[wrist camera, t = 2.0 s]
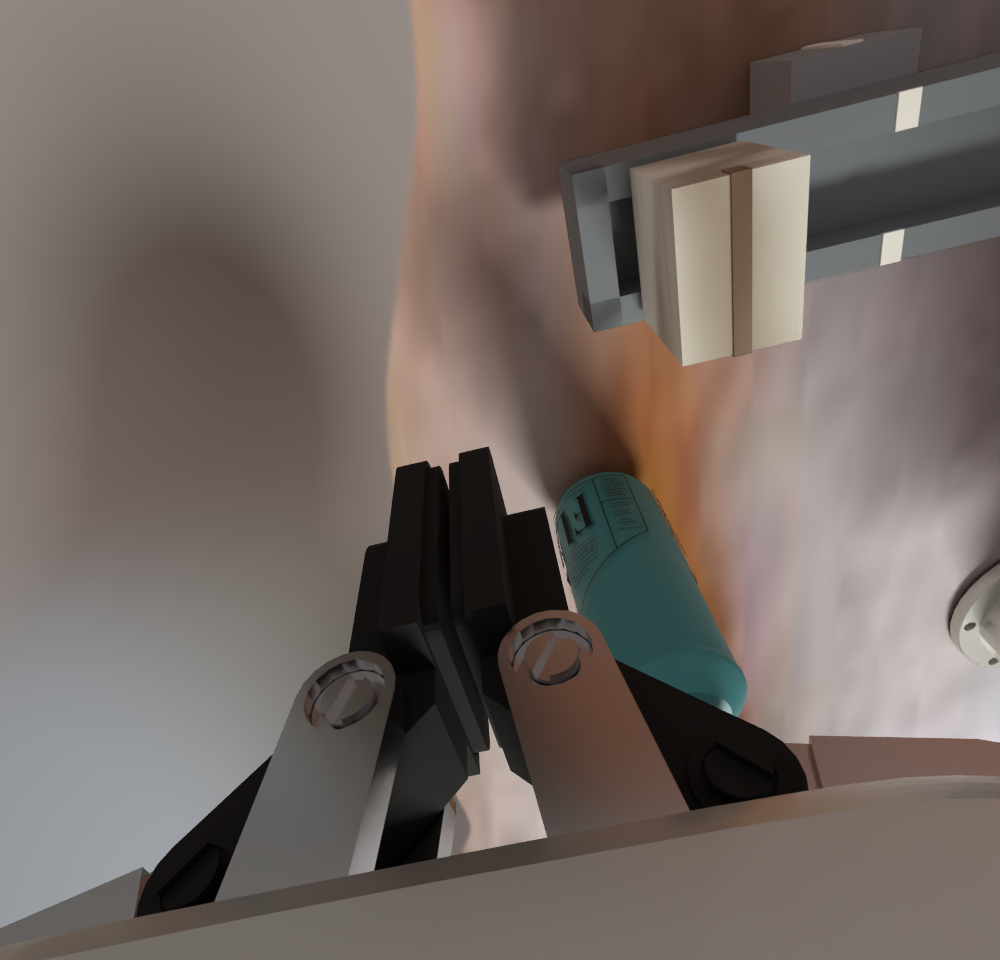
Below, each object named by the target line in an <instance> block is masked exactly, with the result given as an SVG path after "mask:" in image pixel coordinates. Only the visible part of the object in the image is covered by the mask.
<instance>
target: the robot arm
mask: <svg viewBox="0 0 1000 960" xmlns="http://www.w3.org/2000/svg"><path fill="white" fill-rule="evenodd" d="M950 635H951V638H952V641H953V643H954V644H955V646H956V647H957V648H958V650H959V651H960V652H961V653H962V654H963V655H964V656H965V657H966V658H967V659H968V660H970V661H972V662H974V663H976V664H978V665H981V666H985V667H991V668H1000V563H999V564H997V565H996V566H994V567H993V568H992V569H990V570H989V571H988V572H986V573H985V574H984V575H982V576H981V577H980V578H979V579H978V580H977V581H976V582H975V583H974V584H973V585H972V586H971V587H970V588H969V589H968V591H967V592H966V593H965V594H964V596H963V597H962V598H961V599H960V601H959V603H958V605H957V607H956V608H955V610H954V613H953V616H952V619H951V622H950ZM488 718H489V721H490V723H491V726H492V729H493V731H494V734H495V737H496V740H497V742H498V745H499V747H500V748H503V751H504V754H505V756H506V759H507V762H508V765H509V767H510V770H511V771H512V772H514V773H515V774H517V775H518V776H519V777H521V778H522V779H524V780H525V781H527V782H528V783H530V784H531V785H532V786H533V789H534V792H535V796H536V799H537V803H538V806H539V810H540V813H541V817H542V820H543V824H544V827H545V831H546V834H547V838H543V839H537V840H532V841H527V842H521V843H516V844H511V845H505V846H500V847H495V848H490V849H485V850H479V851H474V852H469V853H464V854H459V855H453V856H451V850H452V843H453V835H454V827H455V818H456V802H455V799H454V797H453V796H454V795H455V794H456V793H457V791H458V790H459V789H460V788H461V787H462V785H463V784H464V783H465V782H466V781H467V779H468V776H473V775H478V774H480V764H479V752H482V751H487V750H489V749H490V737H489V723H488ZM0 960H1000V743H998V742H992V741H986V740H980V739H951V738H901V737H852V736H809V744H796V743H783V742H782V741H781V740H779V739H778V738H776V737H775V736H773V735H771V734H770V733H768V732H767V731H765V730H763V729H761V728H759V727H757V726H755V725H753V724H751V723H749V722H746V721H744V720H742V719H740V718H738V717H736V716H734V715H732V714H730V713H727V712H725V711H723V710H721V709H719V708H717V707H715V706H713V705H711V704H708V703H706V702H704V701H702V700H700V699H698V698H696V697H694V696H692V695H690V694H687V693H685V692H683V691H681V690H679V689H677V688H675V687H673V686H671V685H668V684H666V683H664V682H662V681H660V680H658V679H656V678H654V677H652V676H649V675H647V674H645V673H643V672H641V671H639V670H637V669H635V668H633V667H631V666H628V665H626V664H624V663H622V662H620V661H618V660H616V659H614V657H613V655H612V653H611V651H610V649H609V647H608V645H607V643H606V641H605V639H604V637H603V635H602V633H601V632H600V631H599V629H598V628H597V627H596V625H595V624H594V623H593V622H592V621H590V620H589V619H587V618H586V617H584V616H583V615H581V614H578V613H574V612H571V611H569V610H568V606H567V601H566V597H565V593H564V588H563V584H562V580H561V575H560V571H559V567H558V562H557V558H556V554H555V549H554V545H553V541H552V537H551V532H550V528H549V524H548V519H547V515H546V511H545V507H542V508H537V509H533V510H528V511H524V512H519V513H515V514H510V515H507V512H506V508H505V505H504V501H503V497H502V493H501V490H500V486H499V482H498V478H497V475H496V471H495V467H494V463H493V460H492V456H491V452H490V449H489V447H484V448H480V449H476V450H471V451H467V452H463V453H459V462H454V463H450V464H449V489H448V486H447V483H446V480H445V477H444V474H443V471H442V468H441V467H440V466H437V467H433V468H431V467H430V465H429V463H428V462H427V461H423V462H419V463H415V464H410V465H406V466H402V467H398V468H397V469H396V475H395V483H394V491H393V500H392V508H391V516H390V525H389V532H388V541H387V542H384V543H380V544H376V545H371V546H369V547H368V548H367V550H366V553H365V558H364V564H363V570H362V576H361V582H360V588H359V594H358V600H357V606H356V612H355V618H354V624H353V631H352V637H351V642H350V648H349V653H347V654H343V655H341V656H339V657H336V658H334V659H332V660H330V661H328V662H326V663H325V664H324V665H322V666H321V667H320V668H318V669H317V670H315V671H314V673H312V675H311V676H310V677H309V678H308V679H307V680H306V681H305V682H304V683H303V685H302V687H301V689H300V690H299V692H298V694H297V696H296V698H295V700H294V703H293V705H292V708H291V710H290V713H289V715H288V718H287V720H286V723H285V726H284V728H283V731H282V733H281V735H280V738H279V740H278V743H277V746H276V748H275V751H274V753H273V755H272V756H270V757H269V758H268V760H266V761H265V762H264V763H263V764H262V765H261V766H260V767H259V768H258V769H257V770H256V771H254V772H253V773H252V774H251V775H250V776H249V777H248V778H247V779H246V780H245V781H244V782H243V783H241V785H239V786H238V787H237V788H236V789H235V790H234V791H233V792H232V793H231V794H230V795H229V796H228V797H226V798H225V799H224V800H223V801H222V802H221V803H220V804H219V805H218V806H217V807H216V808H215V809H214V810H213V811H211V812H210V813H209V814H208V815H207V816H206V817H205V818H204V819H203V820H202V821H201V822H200V823H199V824H197V826H195V827H194V828H193V829H192V830H191V831H190V832H189V833H188V834H187V835H186V836H185V837H184V838H182V839H181V840H180V841H179V842H178V843H177V844H176V845H175V846H174V847H173V848H172V849H171V850H170V851H169V852H168V853H167V855H166V856H165V857H164V858H163V859H162V860H161V861H160V862H159V863H158V865H157V867H156V868H155V870H154V871H153V872H151V873H148V872H147V871H146V870H145V869H144V868H143V867H141V868H139V869H137V870H135V871H132V872H130V873H128V874H125V875H123V876H121V877H118V878H116V879H114V880H111V881H109V882H107V883H104V884H102V885H100V886H97V887H95V888H93V889H90V890H88V891H86V892H84V893H81V894H79V895H77V896H74V897H72V898H70V899H67V900H65V901H63V902H60V903H58V904H56V905H53V906H51V907H49V908H47V909H44V910H42V911H39V912H37V913H35V914H32V915H30V916H28V917H26V918H23V919H21V920H18V921H16V922H14V923H12V924H9V925H7V926H5V927H2V928H0Z"/></svg>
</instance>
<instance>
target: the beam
mask: <svg viewBox="0 0 1000 960" xmlns="http://www.w3.org/2000/svg"><path fill="white" fill-rule="evenodd" d="M922 32H923V27H914V28H905V29H896V30H887V31H877V32H868V33H862V34H858V35H854V36H851V37H847V38H843V39H839V40H835V41H831V42H821V43H816V44H812V45H808V46H805V47H801V49H800V50H796V51H792V52H789V53H785V54H781V55H777V56H773V57H769V58H765V59H761V60H758V61H754V62H750V115H747V116H743V117H739V118H735V119H731V120H727V121H724V122H720V123H716V124H712V125H708V126H704V127H700V128H696V129H692V130H688V131H684V132H680V133H676V134H672V135H668V136H664V137H660V138H656V139H652V140H648V141H645V142H641V143H637V144H633V145H629V146H625V147H621V148H617V149H613V150H609V151H605V152H601V153H597V154H593V155H589V156H585V157H581V158H577V159H573V160H570V161H566V162H562V163H558V164H557V166H558V172H559V179H560V186H561V192H562V199H563V205H564V212H565V218H566V225H567V231H568V238H569V244H570V251H571V257H572V264H573V271H574V277H575V284H576V290H577V297H578V303H579V307H580V308H581V310H582V312H583V314H584V315H585V317H586V319H587V321H588V322H589V324H590V326H591V327H592V329H593V331H594V332H597V331H601V330H606V329H610V328H614V327H618V326H623V325H627V324H631V323H635V322H640V321H644V320H645V319H644V316H643V305H642V295H641V285H640V274H639V264H638V253H637V243H636V233H635V222H634V212H633V201H632V191H631V180H630V170H629V168H633V167H637V166H641V165H645V164H649V163H653V162H657V161H661V160H665V159H669V158H673V157H677V156H681V155H685V154H689V153H693V152H697V151H701V150H705V149H709V148H713V147H717V146H720V145H724V144H728V143H732V142H736V141H740V140H743V141H748V142H752V143H757V144H762V145H766V146H771V147H776V148H781V149H785V150H790V151H795V152H799V153H804V154H809V155H811V158H810V179H809V200H808V221H807V242H806V263H805V284H806V283H811V282H815V281H819V280H823V279H828V278H832V277H836V276H840V275H844V274H849V273H853V272H857V271H861V270H866V269H870V268H874V267H878V266H883V265H887V264H891V263H894V262H899V261H901V260H902V259H906V258H910V257H914V256H919V255H923V254H927V253H931V252H936V251H940V250H944V249H948V248H953V247H957V246H961V245H965V244H969V243H974V242H978V241H982V240H986V239H991V238H995V237H999V236H1000V52H996V53H992V54H988V55H984V56H980V57H976V58H972V59H968V60H964V61H960V62H956V63H953V64H949V65H945V66H941V67H937V68H933V69H929V70H925V71H921V72H918V64H919V56H920V48H921V40H922Z"/></svg>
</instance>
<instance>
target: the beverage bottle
mask: <svg viewBox="0 0 1000 960" xmlns="http://www.w3.org/2000/svg"><path fill="white" fill-rule="evenodd" d="M652 492H653V490H652ZM653 494H654V493H653ZM653 494H652V493H651V491H650V490H649V489H648V488H647V487H646V486H645V485H644V484H643V483H642V482H640V481H639V480H638V479H636V478H634V477H632V476H630V475H628V474H624V473H620V472H602V473H597V474H593V475H590V476H588V477H585V478H583V479H581V480H579V481H578V482H576V483H575V484H573V485H572V486H571V487H570V488H569V489H568V490H567V491H566V492H565V494H564V495H563V496H562V498H561V500H560V502H559V505H558V507H557V509H556V511H557V513H556V512H555V513H556V520H555V521H556V523H555V524H556V533H558V535H557V537H556V538H558V537H559V540H558V543H559V541H560V545H561V547H560V545H559V546H558V548H561V550H562V552H561V550H560V551H559V552H560V553H561V554H562V553H563V555H562V556H563V557H564V558H563V559H564V562H565V564H566V568H567V572H566V573H567V574H566V575H567V576H566V577H567V582H568V583H569V584H570V585H569V586H571V588H572V592H573V597H574V600H575V604H576V608H577V612H578V614H581V615H583V616H584V617H586V618H587V619H589V620H590V621H592V622H593V623H594V624H595V625H596V627H597V628H598V629H599V631H600V632H601V633H602V635H603V637H604V639H605V641H606V643H607V645H608V647H609V649H610V651H611V653H612V655H613V657H614V659H616V660H618V661H620V662H622V663H624V664H626V665H628V666H631V667H633V668H635V669H637V670H639V671H641V672H643V673H645V674H647V675H649V676H652V677H654V678H656V679H658V680H660V681H662V682H664V683H666V684H668V685H671V686H673V687H675V688H677V689H679V690H681V691H683V692H685V693H687V694H690V695H692V696H694V697H696V698H698V699H700V700H702V701H704V702H706V703H708V704H711V705H713V706H715V707H717V708H719V709H721V710H723V711H725V712H727V713H730V714H732V715H734V716H736V717H738V716H739V714H740V712H741V710H742V708H743V705H744V703H745V700H746V695H747V683H746V679H745V676H744V674H743V672H742V670H741V668H740V667H739V666H738V665H737V663H736V662H735V660H734V658H733V656H732V654H731V652H730V650H729V648H728V646H727V644H726V642H725V640H724V638H723V636H722V634H721V632H720V630H719V628H718V626H717V624H716V622H715V620H714V618H713V616H712V614H711V612H710V610H709V608H708V606H707V604H706V602H705V600H704V598H703V596H702V594H701V592H700V590H699V588H698V586H697V581H696V580H694V579H695V578H696V577H695V578H693V577H694V576H692V575H693V574H692V572H691V570H690V568H689V566H688V564H687V562H686V560H685V558H684V556H683V554H682V552H681V550H680V548H679V546H678V544H679V543H678V544H677V542H678V541H679V539H678V541H677V542H676V540H677V539H676V540H675V538H676V537H675V538H674V536H675V535H676V533H675V535H674V536H673V534H674V533H673V534H672V532H673V530H672V529H671V530H672V532H671V530H670V528H671V526H670V525H669V526H670V528H669V526H668V524H669V523H670V522H669V523H668V524H667V522H668V520H667V519H666V520H667V522H666V520H665V518H666V517H667V516H666V514H664V513H663V514H664V516H666V517H665V518H664V516H663V514H662V512H664V511H662V512H661V510H662V509H661V508H662V506H661V507H660V508H659V506H660V505H659V506H658V504H660V502H659V503H658V504H657V502H658V501H659V500H658V501H657V502H656V500H657V499H656V500H655V498H656V497H655V498H654V496H655V495H654V496H653ZM554 518H555V516H554ZM670 524H671V523H670ZM556 540H557V539H556ZM558 543H557V544H558ZM680 547H681V549H682V545H681V546H680ZM560 556H561V555H560ZM562 556H561V560H562ZM686 556H687V555H686ZM562 564H563V561H562ZM563 568H564V564H563ZM693 571H694V570H693ZM694 574H695V573H694ZM695 581H696V582H695Z"/></svg>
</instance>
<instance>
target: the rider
mask: <svg viewBox="0 0 1000 960" xmlns="http://www.w3.org/2000/svg"><path fill="white" fill-rule="evenodd" d="M810 158H811V155H809V154H804V153H799V152H795V151H790V150H785V149H781V148H776V147H771V146H766V145H762V144H757V143H752V142H748V141H743V140H740V141H736V142H732V143H728V144H724V145H720V146H717V147H713V148H709V149H705V150H701V151H697V152H693V153H689V154H685V155H681V156H677V157H673V158H669V159H665V160H661V161H657V162H653V163H649V164H645V165H641V166H637V167H633V168H629V170H630V180H631V191H632V201H633V212H634V222H635V233H636V243H637V253H638V264H639V274H640V285H641V295H642V305H643V316H644V319H645V321H646V322H647V323H648V324H649V326H650V327H651V328H652V329H653V330H654V332H655V333H656V334H657V335H658V337H659V338H660V339H661V340H662V342H663V343H664V344H665V345H666V346H667V348H668V349H669V350H670V351H671V353H672V354H673V355H674V356H675V357H676V359H677V360H678V361H679V362H680V364H681V365H682V366H687V365H691V364H695V363H700V362H704V361H708V360H713V359H717V358H721V357H726V356H730V355H732V356H733V357H738V356H742V355H746V354H751V353H752V350H756V349H760V348H765V347H769V346H773V345H778V344H782V343H786V342H791V341H795V340H799V339H802V327H803V305H804V284H805V263H806V242H807V221H808V200H809V179H810Z"/></svg>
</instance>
